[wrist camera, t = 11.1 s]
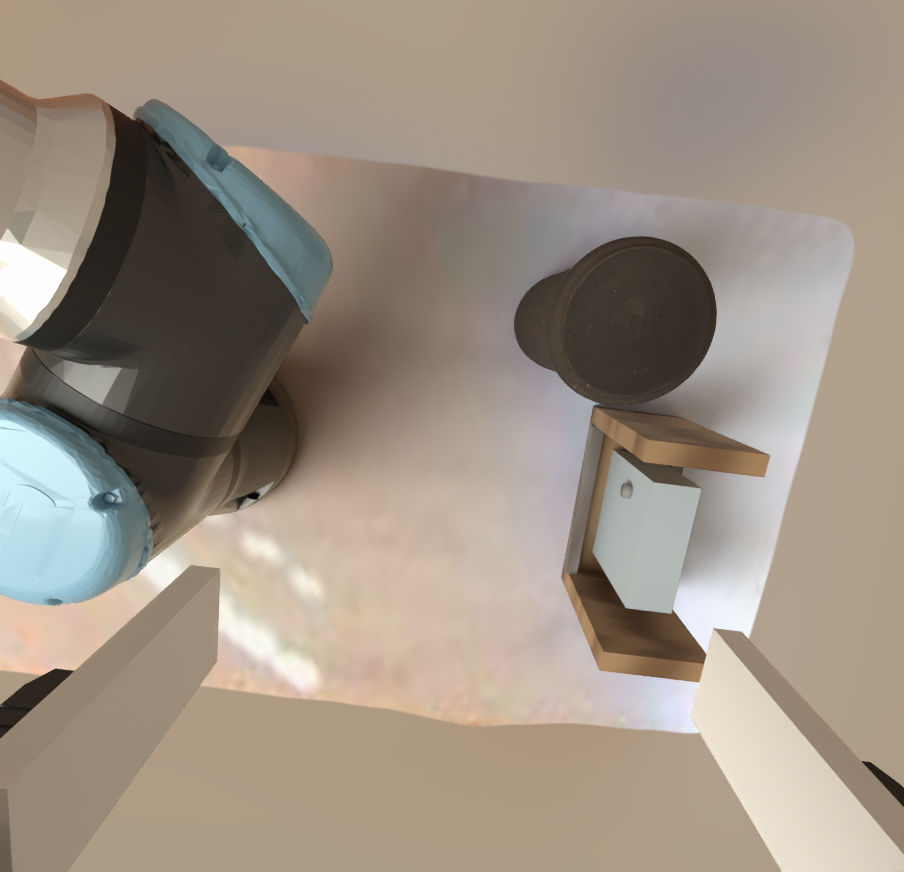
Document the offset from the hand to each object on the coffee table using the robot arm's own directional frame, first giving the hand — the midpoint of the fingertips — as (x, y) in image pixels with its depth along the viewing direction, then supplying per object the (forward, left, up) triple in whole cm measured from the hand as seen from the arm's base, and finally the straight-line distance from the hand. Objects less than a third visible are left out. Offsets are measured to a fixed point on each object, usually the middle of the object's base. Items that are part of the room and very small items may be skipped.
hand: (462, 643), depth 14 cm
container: (+8, +9, -35) cm, 37 cm away
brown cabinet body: (+16, -6, -35) cm, 39 cm away
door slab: (+16, -6, -34) cm, 38 cm away
